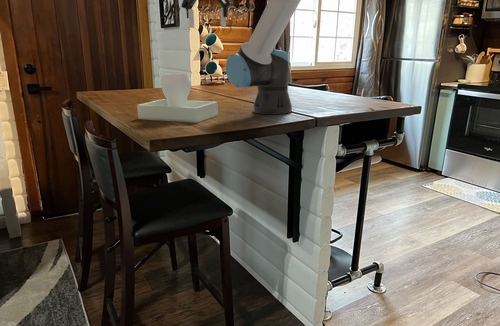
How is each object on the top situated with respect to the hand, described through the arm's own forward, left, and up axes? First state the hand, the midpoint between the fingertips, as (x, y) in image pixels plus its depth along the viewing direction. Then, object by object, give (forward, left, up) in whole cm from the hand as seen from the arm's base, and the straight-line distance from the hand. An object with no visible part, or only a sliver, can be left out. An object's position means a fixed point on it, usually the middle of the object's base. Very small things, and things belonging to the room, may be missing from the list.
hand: (207, 27), depth 147 cm
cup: (+4, +18, -31) cm, 36 cm away
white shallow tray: (+4, +18, -32) cm, 37 cm away
